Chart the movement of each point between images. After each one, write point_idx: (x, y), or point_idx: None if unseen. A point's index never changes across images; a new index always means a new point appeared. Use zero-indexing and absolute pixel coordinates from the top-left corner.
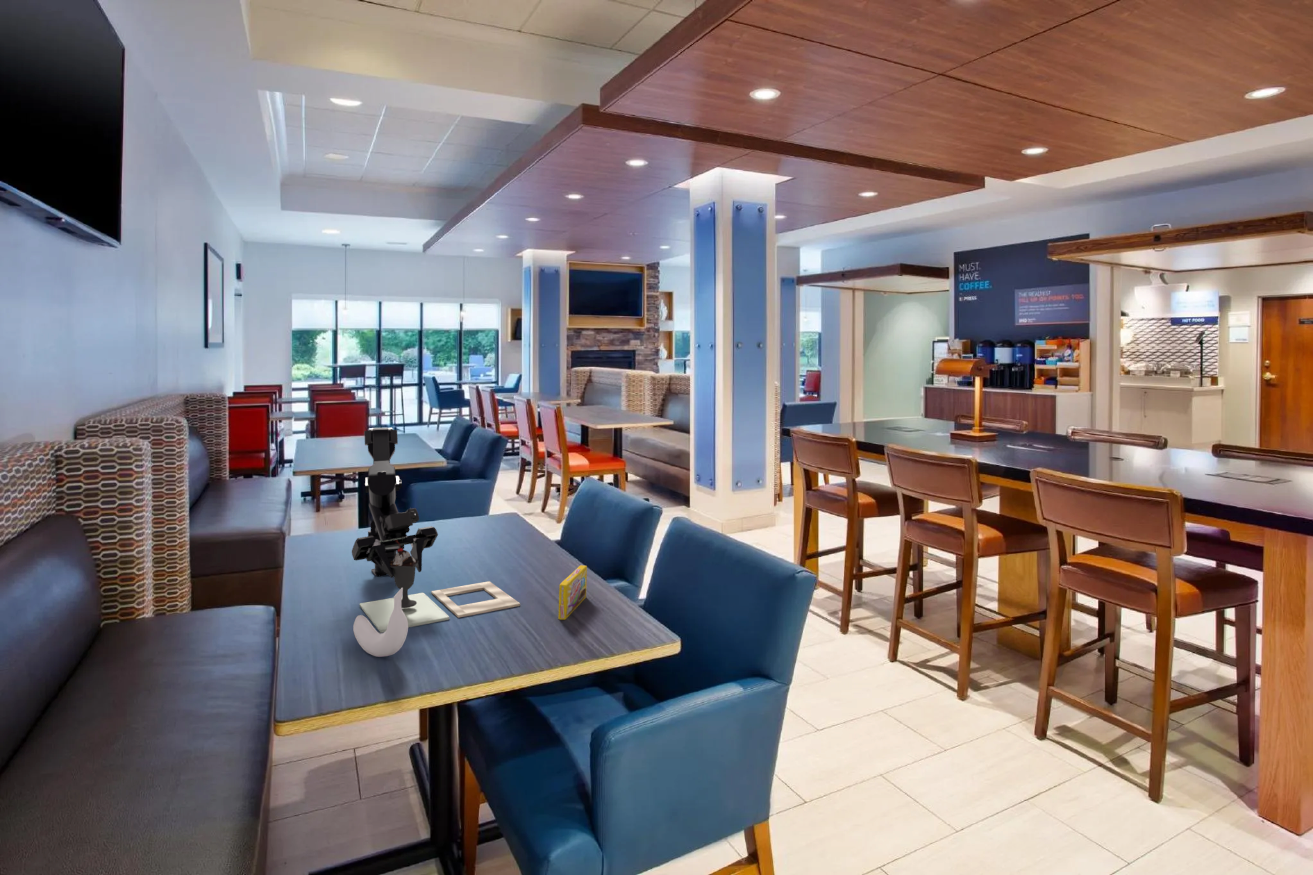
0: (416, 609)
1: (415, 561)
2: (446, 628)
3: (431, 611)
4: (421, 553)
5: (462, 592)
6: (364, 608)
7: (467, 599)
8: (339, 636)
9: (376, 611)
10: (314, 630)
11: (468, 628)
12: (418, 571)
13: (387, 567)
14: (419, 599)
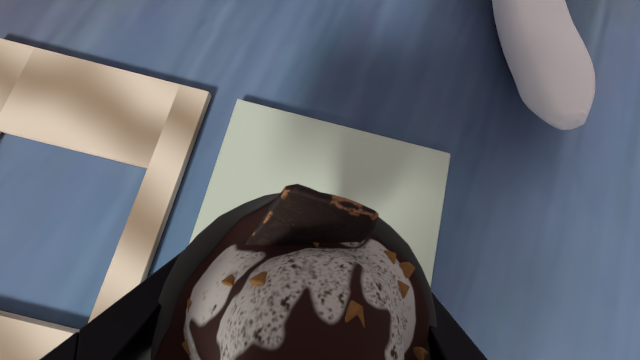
0: None
1: (211, 266)
2: (289, 51)
3: (247, 186)
4: (50, 356)
5: (9, 314)
6: None
7: (59, 231)
8: (548, 219)
9: None
10: (599, 331)
11: (246, 8)
12: None
13: (459, 326)
14: None
